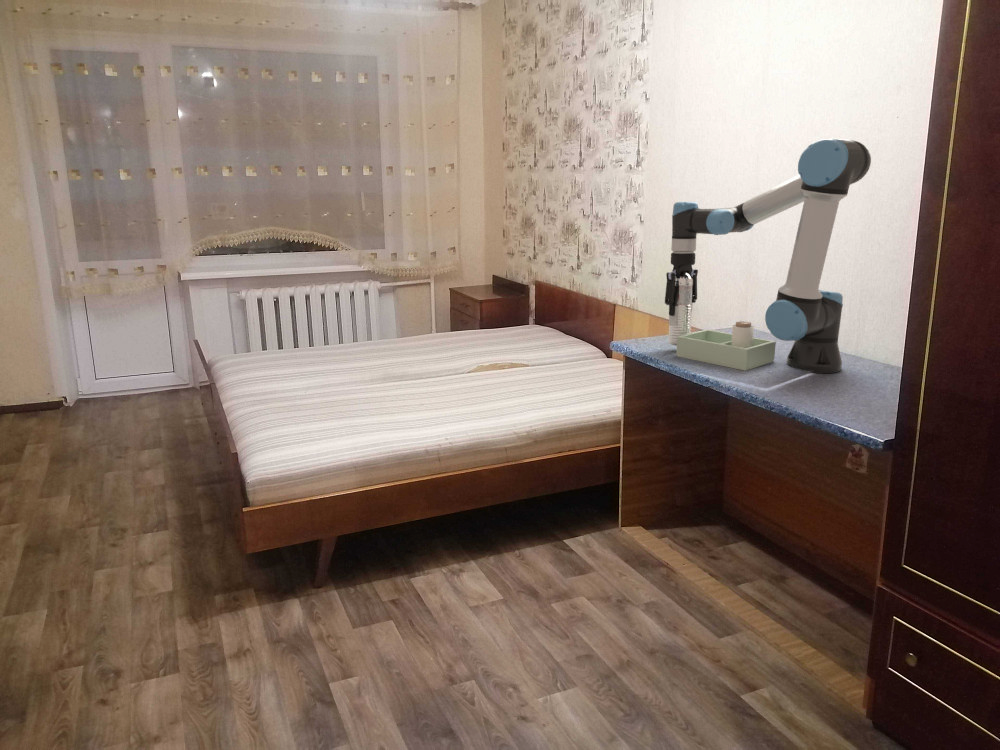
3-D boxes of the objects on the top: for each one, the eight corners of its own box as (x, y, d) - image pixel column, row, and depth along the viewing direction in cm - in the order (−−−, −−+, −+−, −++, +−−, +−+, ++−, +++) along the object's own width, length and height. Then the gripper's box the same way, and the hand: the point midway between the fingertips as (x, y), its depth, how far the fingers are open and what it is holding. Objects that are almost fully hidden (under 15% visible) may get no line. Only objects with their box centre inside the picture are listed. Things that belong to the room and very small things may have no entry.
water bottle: (692, 346, 241) (695, 267, 234) (670, 346, 241) (673, 267, 234) (687, 341, 247) (690, 265, 241) (666, 341, 247) (669, 265, 241)
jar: (754, 362, 227) (758, 322, 224) (743, 365, 223) (747, 325, 220) (736, 358, 231) (740, 320, 228) (726, 361, 227) (729, 322, 224)
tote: (773, 363, 228) (775, 341, 226) (745, 373, 217) (747, 349, 216) (705, 350, 245) (706, 329, 243) (676, 358, 235) (677, 336, 233)
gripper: (691, 249, 246) (688, 318, 251) (654, 253, 233) (651, 326, 239) (711, 250, 240) (707, 321, 246) (674, 255, 228) (671, 329, 233)
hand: (680, 323), depth 242 cm, fingers closed on water bottle, 7 cm apart
